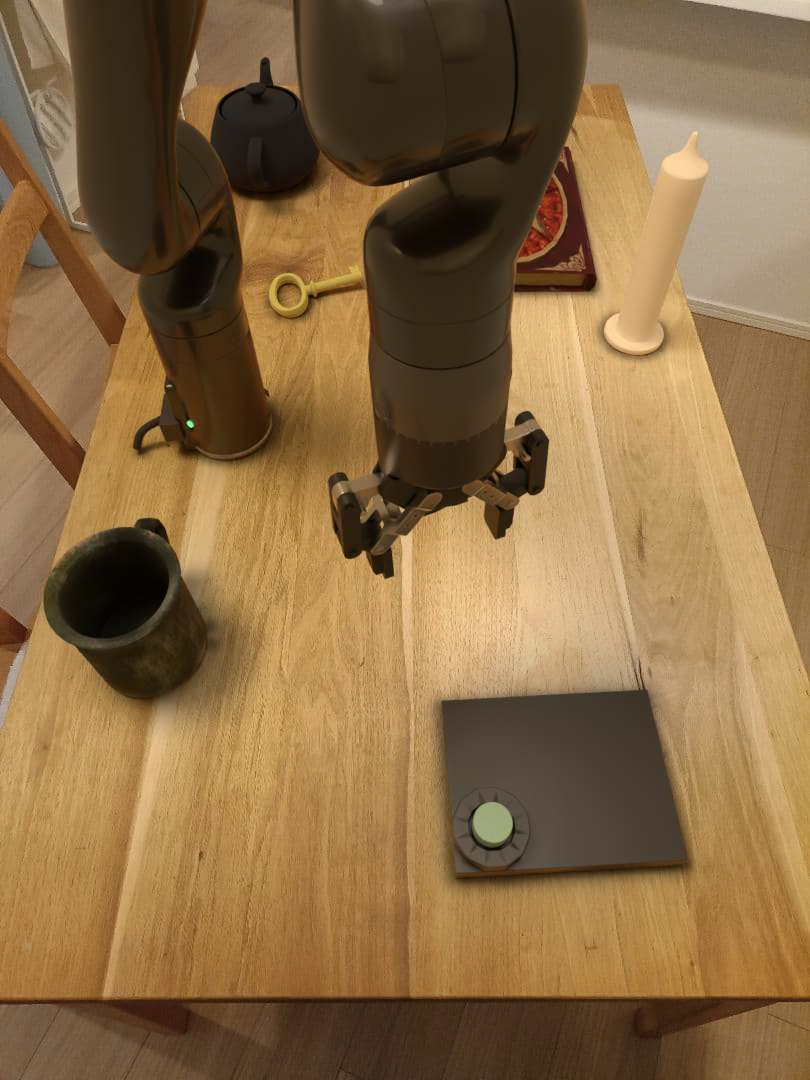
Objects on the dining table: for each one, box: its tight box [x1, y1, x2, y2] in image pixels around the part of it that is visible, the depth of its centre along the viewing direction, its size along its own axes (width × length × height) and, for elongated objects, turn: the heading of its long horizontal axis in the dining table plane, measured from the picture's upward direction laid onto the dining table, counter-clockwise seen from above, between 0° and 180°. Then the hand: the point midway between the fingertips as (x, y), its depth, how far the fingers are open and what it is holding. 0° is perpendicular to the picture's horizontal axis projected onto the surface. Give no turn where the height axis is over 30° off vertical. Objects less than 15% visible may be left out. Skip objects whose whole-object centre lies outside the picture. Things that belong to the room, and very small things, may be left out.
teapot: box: [209, 56, 321, 194], centre depth 108 cm, size 25×16×12 cm, turn 1°
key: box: [268, 264, 364, 319], centre depth 98 cm, size 7×12×2 cm, turn 123°
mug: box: [42, 517, 208, 698], centre depth 67 cm, size 11×15×12 cm
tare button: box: [472, 802, 513, 848], centre depth 59 cm, size 3×3×2 cm
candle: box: [603, 131, 710, 356], centre depth 83 cm, size 7×7×25 cm
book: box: [514, 145, 598, 292], centre depth 104 cm, size 28×21×5 cm
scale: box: [440, 689, 688, 879], centre depth 63 cm, size 18×14×4 cm
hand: (439, 548), depth 55 cm, fingers open, 8 cm apart
